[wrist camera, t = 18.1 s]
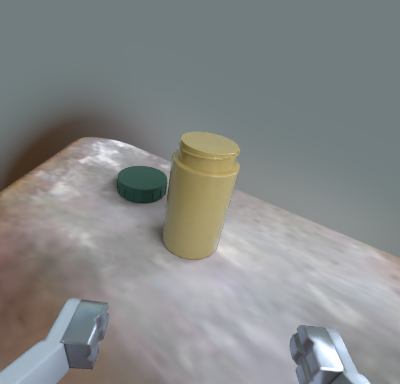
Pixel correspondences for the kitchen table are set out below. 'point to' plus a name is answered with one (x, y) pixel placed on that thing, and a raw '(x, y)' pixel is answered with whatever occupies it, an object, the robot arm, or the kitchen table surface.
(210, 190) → the jam jar
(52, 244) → the kitchen table surface
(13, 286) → the kitchen table surface
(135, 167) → the jar lid
